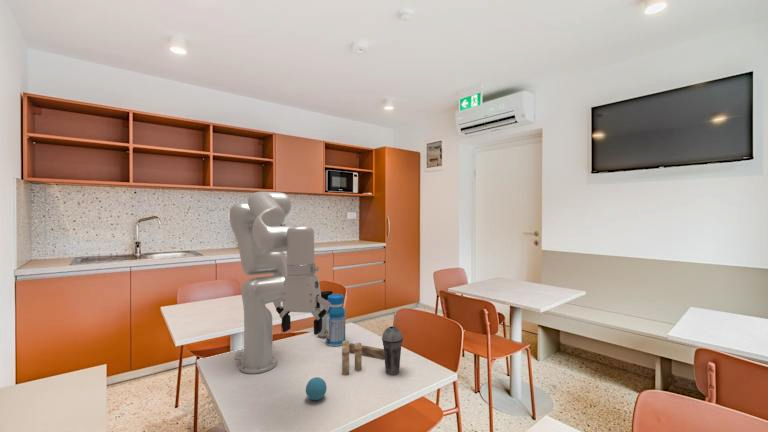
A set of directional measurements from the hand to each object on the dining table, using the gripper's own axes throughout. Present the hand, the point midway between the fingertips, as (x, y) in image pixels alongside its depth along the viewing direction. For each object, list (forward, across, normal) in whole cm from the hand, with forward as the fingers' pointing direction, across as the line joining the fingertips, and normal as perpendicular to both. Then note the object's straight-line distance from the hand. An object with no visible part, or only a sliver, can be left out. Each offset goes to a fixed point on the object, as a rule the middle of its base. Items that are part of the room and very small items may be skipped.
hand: (301, 332), depth 93 cm
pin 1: (+21, -1, -28) cm, 35 cm away
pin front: (+21, -3, -23) cm, 32 cm away
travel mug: (+20, +19, -54) cm, 60 cm away
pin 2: (+21, -6, -27) cm, 35 cm away
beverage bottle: (+21, +11, -47) cm, 53 cm away
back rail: (+21, -6, -39) cm, 45 cm away
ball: (+18, -1, -6) cm, 20 cm away
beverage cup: (+22, -18, -29) cm, 40 cm away
